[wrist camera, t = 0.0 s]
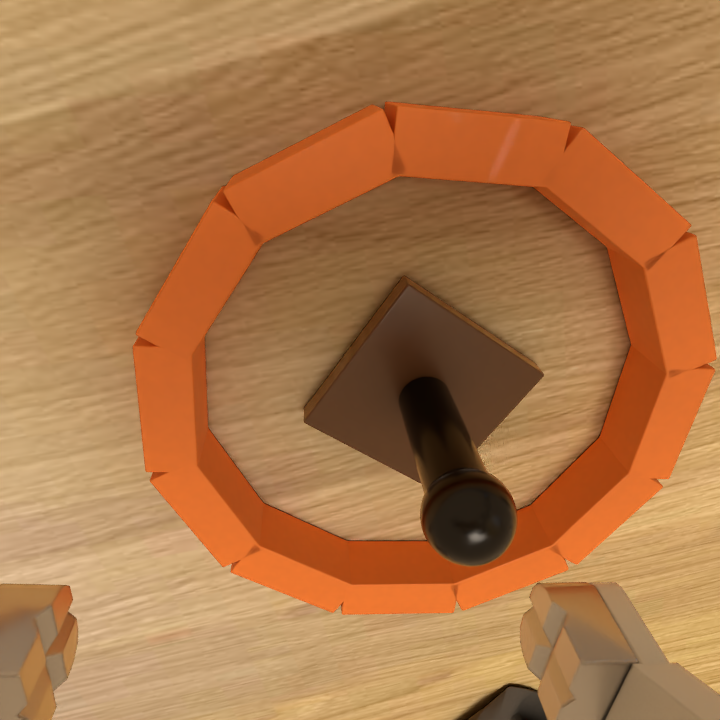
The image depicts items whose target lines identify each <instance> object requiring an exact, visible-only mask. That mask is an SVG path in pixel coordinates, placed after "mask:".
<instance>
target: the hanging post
mask: <svg viewBox="0 0 720 720" xmlns="http://www.w3.org/2000/svg"><path fill="white" fill-rule="evenodd" d="M543 376H544V374H543V372H542V371H541V370H540V369H539V367H538V366H537V365H536V364H535V363H534V362H533V361H531V360H530V359H528V358H527V357H525V356H524V355H522V354H521V353H519V352H518V351H516V350H515V349H513V348H512V347H510V346H509V345H507V344H506V343H504V342H503V341H501V340H500V339H498V338H497V337H495V336H494V335H492V334H491V333H490V332H488V331H487V330H485V329H484V328H482V327H481V326H479V325H478V324H476V323H475V322H473V321H472V320H470V319H469V318H467V317H466V316H464V315H463V314H461V313H460V312H458V311H457V310H455V309H454V308H452V307H451V306H449V305H448V304H446V303H445V302H443V301H442V300H440V299H439V298H437V297H436V296H434V295H433V294H431V293H430V292H428V291H427V290H425V289H424V288H422V287H421V286H419V285H418V284H416V283H415V282H413V281H412V280H410V279H409V278H407V277H406V276H403V277H402V278H401V280H400V281H399V282H398V284H397V285H396V286H395V288H394V289H393V290H392V292H391V293H390V294H389V296H388V297H387V298H386V300H385V301H384V302H383V304H382V305H381V306H380V308H379V309H378V310H377V312H376V313H375V314H374V316H373V317H372V318H371V320H370V321H369V322H368V324H367V325H366V326H365V328H364V329H363V330H362V332H361V333H360V335H359V336H358V337H357V339H356V340H355V341H354V343H353V344H352V345H351V347H350V348H349V349H348V351H347V352H346V353H345V355H344V356H343V357H342V359H341V360H340V361H339V363H338V364H337V365H336V367H335V368H334V369H333V371H332V372H331V373H330V375H329V376H328V377H327V379H326V380H325V381H324V383H323V384H322V385H321V387H320V388H319V389H318V391H317V392H316V393H315V395H314V396H313V397H312V399H311V400H310V401H309V403H308V404H307V405H306V407H305V408H304V422H305V423H306V424H308V425H310V426H312V427H314V428H316V429H317V430H319V431H321V432H323V433H325V434H327V435H329V436H331V437H333V438H335V439H337V440H339V441H341V442H342V443H344V444H346V445H348V446H350V447H352V448H354V449H356V450H358V451H360V452H362V453H364V454H365V455H367V456H369V457H371V458H373V459H375V460H377V461H379V462H381V463H383V464H385V465H387V466H388V467H390V468H392V469H394V470H396V471H398V472H400V473H402V474H404V475H406V476H408V477H410V478H412V479H413V480H415V481H417V482H419V483H421V484H422V487H423V491H424V497H423V499H422V503H421V509H420V520H421V526H422V530H423V532H424V535H425V537H426V539H427V541H428V542H429V544H430V545H431V547H432V548H433V549H434V550H435V551H436V552H437V553H438V554H439V555H440V556H442V557H443V558H444V559H446V560H448V561H450V562H452V563H455V564H458V565H462V566H481V565H485V564H488V563H490V562H492V561H494V560H496V559H497V558H499V557H500V556H501V555H502V554H503V553H504V552H505V551H506V550H507V549H508V547H509V546H510V545H511V543H512V541H513V538H514V536H515V533H516V528H517V511H516V506H515V503H514V500H513V498H512V496H511V494H510V492H509V491H508V489H507V488H506V487H505V485H504V484H503V483H502V482H501V481H500V480H499V479H497V478H496V477H495V476H493V475H492V474H490V473H488V472H487V470H486V468H485V466H484V464H483V462H482V460H481V457H480V455H479V453H478V451H477V448H478V447H479V446H480V445H481V444H482V443H483V441H484V440H485V439H486V438H487V437H488V436H489V435H490V434H491V433H492V432H493V431H494V429H495V428H496V427H497V426H498V425H499V424H500V423H501V422H502V421H503V420H504V419H505V417H506V416H507V415H508V414H509V413H510V412H511V411H512V410H513V409H514V408H515V407H516V405H517V404H518V403H519V402H520V401H521V400H522V399H523V398H524V397H525V396H526V395H527V394H528V392H529V391H530V390H531V389H532V388H533V387H534V386H535V385H536V384H537V383H538V382H539V380H540V379H541V378H542V377H543Z"/></svg>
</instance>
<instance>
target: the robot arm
mask: <svg viewBox="0 0 720 720" xmlns="http://www.w3.org/2000/svg"><path fill="white" fill-rule="evenodd" d="M529 598H530V600H531V602H532V605H533V607H532V608H531V609H529V610H528V611H527V612H526V613H524V615H523V618H522V622H521V625H520V643H521V648H522V653H523V656H524V659H525V662H526V665H527V667H528V669H529V670H530V671H531V672H532V673H533V674H534V675H535V676H536V677H538V678H539V679H540V680H541V681H540V685H539V688H538V692H537V694H538V697H539V699H540V702H541V704H542V707H543V709H544V712H545V715H546V717H547V720H720V695H719V694H718V693H717V692H715V691H714V690H713V689H711V688H710V687H709V686H707V685H706V684H705V683H703V682H702V681H701V680H699V679H698V678H697V677H695V676H694V675H693V674H691V673H690V672H689V671H687V670H686V669H685V668H683V667H682V666H681V665H679V664H678V663H669V661H668V660H667V658H666V657H665V655H664V653H663V652H662V650H661V649H660V647H659V645H658V644H657V642H656V641H655V639H654V638H653V636H652V634H651V633H650V631H649V630H648V628H647V626H646V625H645V623H644V622H643V620H642V619H641V617H640V615H639V614H638V612H637V611H636V609H635V607H634V606H633V604H632V603H631V601H630V600H629V598H628V596H627V595H626V593H625V592H624V590H623V589H622V587H621V586H619V585H618V584H617V583H586V582H569V583H537V584H536V585H535V586H534V587H533V588H532V591H531V594H530V597H529ZM72 601H73V598H72V593H71V589H70V586H67V585H41V584H0V720H51V719H52V717H53V714H54V712H55V709H56V702H55V698H54V693H53V691H54V690H55V689H57V688H58V687H59V686H60V685H61V684H62V683H63V682H64V681H66V680H67V678H68V676H69V673H70V670H71V668H72V665H73V662H74V658H75V653H76V648H77V644H78V625H77V619H76V617H74V616H73V615H72V614H71V613H69V612H68V610H69V608H70V606H71V603H72Z"/></svg>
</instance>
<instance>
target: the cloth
mask: <svg viewBox="0 0 720 720" xmlns="http://www.w3.org/2000/svg"><path fill="white" fill-rule="evenodd" d="M468 720H547V717H546V715H545V712H544V709H543V707H542V704H541V702H540V699H539V697H538V694H537V691H534V690H530V689H526V688H520V687H512V686H511V687H508V688H507V689H506V690H505V691H503V692H502V693H501V694H500V695H499V696H497V697H496V698H495V699H494V700H493V701H491V702H490V703H489V704H488V705H487V706H485V707H484V708H483V709H481V710H480V711H478V712H477V713H476V714H474V715H473V716H472V717H470V718H469V719H468Z"/></svg>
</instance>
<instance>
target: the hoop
mask: <svg viewBox="0 0 720 720" xmlns="http://www.w3.org/2000/svg"><path fill="white" fill-rule="evenodd" d="M398 176H405V177H417V178H430V179H442V180H455V181H467V182H480V183H492V184H505V185H517V186H529V187H534V188H535V189H536V190H537V191H539V192H540V193H541V194H542V195H543V196H545V197H546V198H547V199H548V200H550V201H551V202H552V203H553V204H554V205H556V206H557V207H558V208H559V209H561V210H562V211H563V212H564V213H566V214H567V215H568V216H569V217H570V218H572V219H573V220H574V221H575V222H577V223H578V224H579V225H580V226H581V227H583V228H584V229H585V230H586V231H588V232H589V233H590V234H591V235H592V236H594V237H595V238H596V239H597V240H599V241H600V242H601V243H602V244H604V245H605V246H606V247H607V250H608V254H609V258H610V262H611V266H612V270H613V274H614V278H615V282H616V286H617V290H618V294H619V298H620V302H621V306H622V310H623V314H624V318H625V322H626V326H627V330H628V334H629V338H630V342H631V347H630V350H629V352H628V355H627V358H626V361H625V364H624V367H623V370H622V373H621V376H620V379H619V382H618V385H617V388H616V391H615V394H614V396H613V399H612V402H611V405H610V408H609V411H608V414H607V417H606V420H605V423H604V426H603V429H602V432H601V435H600V437H599V438H598V439H597V440H596V441H595V442H594V443H593V444H592V445H591V446H590V447H589V448H588V449H587V450H586V451H585V452H584V453H583V454H582V455H581V456H580V457H579V458H578V459H577V460H576V461H575V462H574V463H573V464H572V465H571V466H570V467H569V468H568V469H567V470H566V471H565V472H564V473H563V474H562V475H561V476H560V477H559V478H558V479H557V480H556V481H555V482H554V483H553V484H552V485H551V486H550V487H549V488H548V489H547V490H545V491H544V492H543V493H542V494H541V495H540V496H539V497H538V498H537V499H536V500H535V501H534V502H533V503H532V504H531V505H530V506H527V507H525V508H522V509H520V510H517V528H516V533H515V536H514V538H513V541H512V543H511V545H510V546H509V547H508V549H507V550H506V551H505V552H504V553H503V554H502V555H501V556H500V557H499V558H497V559H496V560H494V561H492V562H490V563H488V564H485V565H481V566H462V565H458V564H455V563H452V562H450V561H448V560H446V559H444V558H443V557H442V556H440V555H439V554H438V553H437V552H436V551H435V550H434V549H433V548H432V547H431V545H430V544H429V542H428V541H346V540H343V539H341V538H339V537H337V536H335V535H332V534H330V533H328V532H326V531H324V530H321V529H319V528H317V527H315V526H312V525H310V524H308V523H306V522H304V521H301V520H299V519H297V518H295V517H293V516H290V515H288V514H286V513H284V512H281V511H279V510H277V509H275V508H273V507H270V506H268V505H266V504H264V503H263V502H262V501H261V499H260V498H259V497H258V495H257V494H256V493H255V491H254V490H253V488H252V487H251V486H250V484H249V483H248V482H247V480H246V479H245V478H244V476H243V475H242V473H241V472H240V471H239V469H238V468H237V467H236V465H235V464H234V463H233V461H232V460H231V459H230V457H229V456H228V454H227V453H226V452H225V450H224V449H223V448H222V446H221V445H220V444H219V442H218V441H217V440H216V438H215V437H214V435H213V434H212V433H211V431H210V430H209V429H208V412H207V387H206V361H205V335H206V333H207V332H208V330H209V328H210V327H211V325H212V324H213V322H214V321H215V319H216V317H217V316H218V314H219V313H220V311H221V309H222V308H223V306H224V305H225V303H226V301H227V300H228V298H229V297H230V295H231V294H232V292H233V290H234V289H235V287H236V286H237V284H238V282H239V281H240V279H241V278H242V276H243V275H244V273H245V271H246V270H247V268H248V267H249V265H250V263H251V262H252V260H253V259H254V257H255V255H256V254H257V252H258V251H259V249H260V248H261V246H262V244H263V243H265V242H267V241H269V240H271V239H273V238H275V237H277V236H279V235H281V234H283V233H285V232H287V231H289V230H291V229H293V228H295V227H297V226H299V225H301V224H303V223H305V222H307V221H309V220H311V219H313V218H315V217H317V216H319V215H321V214H323V213H325V212H327V211H329V210H332V209H334V208H336V207H338V206H340V205H342V204H344V203H346V202H348V201H350V200H352V199H354V198H356V197H358V196H360V195H362V194H364V193H366V192H368V191H370V190H372V189H374V188H376V187H378V186H380V185H382V184H384V183H386V182H388V181H390V180H392V179H394V178H396V177H398ZM690 227H691V224H690V223H689V222H688V221H687V220H685V219H684V218H683V217H682V216H681V215H680V214H679V213H678V212H677V211H675V210H674V209H673V208H672V207H671V206H670V205H669V204H668V203H667V202H665V201H664V200H663V199H662V198H661V197H660V196H659V195H658V194H657V193H656V192H654V191H653V190H652V189H651V188H650V187H649V186H648V185H647V184H646V183H644V182H643V181H642V180H641V179H640V178H639V177H638V176H637V175H636V174H634V173H633V172H632V171H631V170H630V169H629V168H628V167H627V166H626V165H624V164H623V163H622V162H621V161H620V160H619V159H618V158H617V157H616V156H615V155H613V154H612V153H611V152H610V151H609V150H608V149H607V148H606V147H605V146H603V145H602V144H601V143H600V142H599V141H598V140H597V139H596V138H595V137H593V136H592V135H591V134H590V133H589V132H588V131H587V130H586V129H585V128H582V127H577V126H572V125H571V122H569V121H563V120H557V119H552V118H546V117H540V116H532V115H522V114H511V113H501V112H490V111H480V110H470V109H459V108H449V107H438V106H428V105H418V104H407V103H397V102H385V110H383V109H382V108H380V107H377V106H375V105H370V106H368V107H366V108H364V109H362V110H360V111H358V112H356V113H354V114H352V115H350V116H348V117H346V118H345V119H343V120H341V121H339V122H337V123H335V124H333V125H331V126H329V127H327V128H325V129H323V130H321V131H319V132H317V133H315V134H313V135H311V136H310V137H308V138H306V139H304V140H302V141H300V142H298V143H296V144H294V145H292V146H290V147H288V148H286V149H284V150H282V151H280V152H278V153H276V154H275V155H273V156H271V157H269V158H267V159H265V160H263V161H261V162H259V163H257V164H255V165H253V166H251V167H249V168H247V169H245V170H243V171H241V172H240V173H238V174H236V175H234V176H233V177H232V178H231V180H230V181H229V182H228V184H227V185H226V187H225V186H222V187H221V189H220V190H219V191H218V193H217V194H216V196H215V197H214V198H213V200H212V201H211V203H210V204H209V206H208V208H207V210H206V211H205V213H204V215H203V217H202V218H201V220H200V222H199V224H198V225H197V227H196V229H195V230H194V232H193V234H192V236H191V237H190V239H189V241H188V243H187V244H186V246H185V248H184V250H183V251H182V253H181V255H180V257H179V258H178V260H177V262H176V263H175V265H174V267H173V269H172V270H171V272H170V274H169V276H168V277H167V279H166V281H165V283H164V284H163V286H162V288H161V290H160V291H159V293H158V295H157V297H156V298H155V300H154V302H153V303H152V305H151V307H150V309H149V310H148V312H147V314H146V316H145V317H144V319H143V321H142V323H141V324H140V326H139V328H138V330H137V331H136V335H137V336H139V337H138V339H137V340H136V342H135V344H134V345H133V355H134V364H135V374H136V384H137V393H138V403H139V412H140V422H141V432H142V441H143V451H144V461H145V470H146V472H153V474H152V476H151V479H150V482H151V483H152V484H153V485H154V487H155V488H156V489H157V490H158V491H159V493H160V494H161V495H162V496H163V497H164V498H165V500H166V501H167V502H168V503H169V504H170V505H171V507H172V508H173V509H174V510H175V511H176V513H177V514H178V515H179V516H180V517H181V518H182V520H183V521H184V522H185V523H186V524H187V526H188V527H189V528H190V529H191V530H192V531H193V533H194V534H195V535H196V536H197V537H198V538H199V540H200V541H201V542H202V543H203V544H204V546H205V547H206V548H207V549H208V550H209V551H210V553H211V554H212V555H213V556H214V557H215V558H216V560H217V561H218V562H219V563H220V564H221V566H222V567H225V566H227V565H229V564H232V566H231V573H234V574H236V575H239V576H241V577H244V578H246V579H249V580H251V581H254V582H256V583H259V584H261V585H264V586H266V587H269V588H271V589H274V590H276V591H279V592H282V593H284V594H287V595H289V596H292V597H294V598H297V599H299V600H302V601H304V602H307V603H309V604H312V605H314V606H317V607H319V608H322V609H324V610H327V611H329V612H332V613H333V612H334V611H335V610H336V609H337V608H338V607H339V606H340V605H341V610H342V614H343V615H345V614H404V613H453V612H454V609H455V604H456V600H457V602H458V604H459V606H460V607H461V609H462V610H466V609H468V608H471V607H474V606H476V605H479V604H481V603H484V602H487V601H489V600H492V599H494V598H497V597H499V596H502V595H505V594H507V593H510V592H512V591H515V590H518V589H520V588H523V587H525V586H528V585H530V584H533V583H536V582H538V581H541V580H543V579H546V578H549V577H551V576H554V575H556V574H559V573H562V572H564V571H567V570H568V566H567V564H566V561H565V559H567V560H569V561H571V562H572V563H574V564H578V563H579V562H580V561H582V560H583V559H584V558H585V557H586V556H587V555H588V554H589V553H590V552H592V551H593V550H594V549H595V548H596V547H597V546H598V545H599V544H600V543H602V542H603V541H604V540H605V539H606V538H607V537H608V536H609V535H610V534H611V533H613V532H614V531H615V530H616V529H617V528H618V527H619V526H620V525H621V524H623V523H624V522H625V521H626V520H627V519H628V518H629V517H630V516H631V515H633V514H634V513H635V512H636V511H637V510H638V509H639V508H640V507H641V506H643V505H644V504H645V503H646V502H647V501H648V500H649V499H650V498H651V497H653V496H654V495H655V494H656V493H657V492H658V491H659V490H660V489H661V488H662V487H663V486H662V485H661V484H660V482H659V481H658V480H657V479H669V478H670V475H671V473H672V471H673V468H674V466H675V463H676V461H677V459H678V456H679V454H680V452H681V449H682V447H683V445H684V442H685V440H686V438H687V435H688V433H689V431H690V428H691V426H692V424H693V421H694V419H695V416H696V414H697V412H698V409H699V407H700V405H701V402H702V400H703V398H704V395H705V393H706V391H707V388H708V386H709V384H710V381H711V379H712V376H713V374H714V372H715V369H714V368H713V367H711V366H710V365H708V364H707V363H709V362H712V361H714V360H716V359H717V357H716V351H715V345H714V339H713V333H712V327H711V321H710V315H709V309H708V303H707V297H706V291H705V285H704V279H703V273H702V267H701V261H700V255H699V249H698V243H697V237H696V235H694V234H691V233H689V232H686V231H687V230H688V229H689V228H690ZM564 558H565V559H564Z"/></svg>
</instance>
